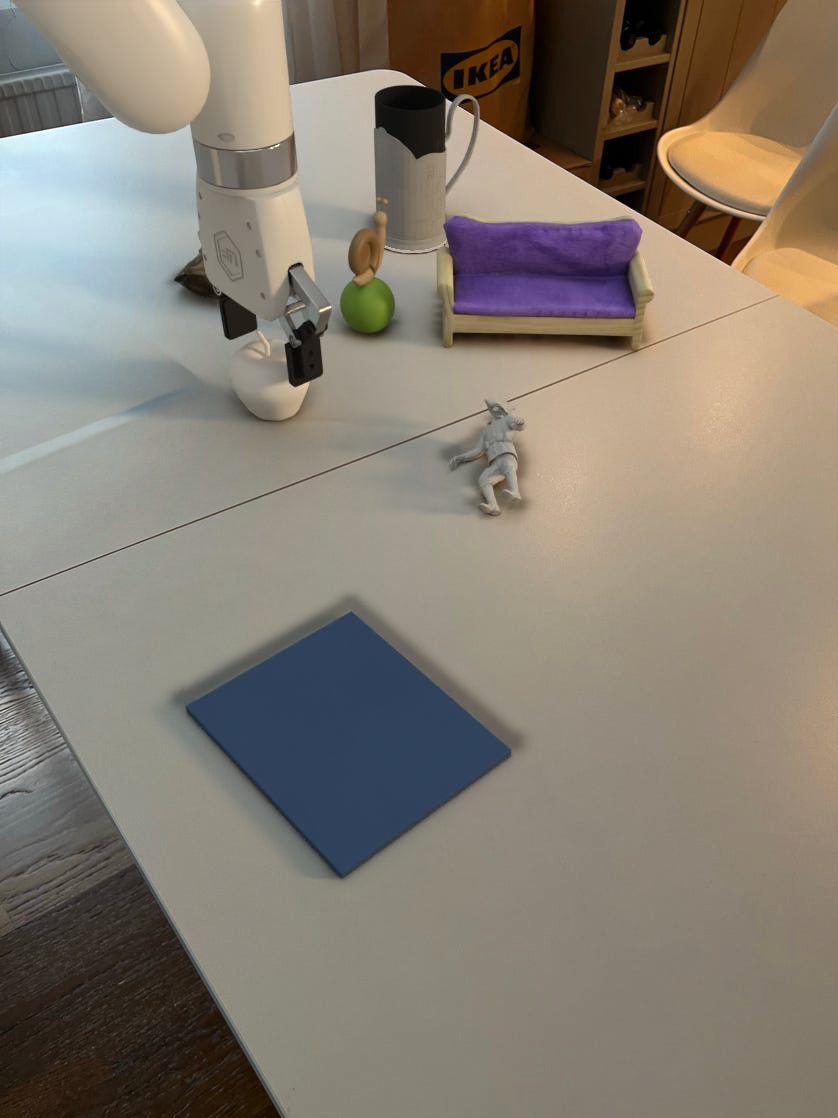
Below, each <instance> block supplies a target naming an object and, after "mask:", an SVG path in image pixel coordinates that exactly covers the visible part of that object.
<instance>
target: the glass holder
mask: <svg viewBox="0 0 838 1118" xmlns="http://www.w3.org/2000/svg"><path fill="white" fill-rule="evenodd" d="M468 99H469V100H470V101H471V103H472V105H473V123H472V124H473V125H472V130H471V136H470V140H469V143H468V147H467V149H466V152H465V154H464V157H463V159H462V160H461V163H460V165H459V166H458V168H457V170H456V171H455V173H454V174H453V175H452V177H451V178H450V179H449V181H448V183H447V152H448V151H447V146H446V143H447V142H448V141H449V140H450V139H451V136H452V131H453V119H454V116H455V111H456V110H457V107H458V106H459V105H460V104H461V102H462V101H464V100H468ZM446 112H447V114H446ZM446 115H447V116H446ZM480 117H481V112H480V105H479V102H478V100H477V99H476V98H475V97H474V96H473V95H470V94H465V93H463V94H460V95H458V96H457V97H456V98H454V100H453V101H452V102H451V104H450V106H449V108H448V111H447V98H446V95H445V94H444V93H443V92H442V91H440V90H438V89H435V88H432V87H429V86H424V85H418V84H399V85H391V86H387V87H384V88H381V89H380V90H378V91H376V92H375V94H374V126H375V127H373V145H374V146H373V149H374V154H373V155H374V181H375V183H374V184H375V185H374V186H375V200H376V199H377V198H378V197H379V198H381V200H383V199H386V200H387V201H388V203H387V205H386V216H387V222H386V226H385V231H386V237H385V245H386V246H388V247H391V248H395V249H400V250H410V251H415V250H425V249H430V248H433V247H436V246H438V245H440V244H442V243H443V242H444V241H445V240H446V239H447V238H446V233H445V230H444V227H443V224H444V223H446V202H447V201H446V199H447V196H448V194H449V192H451V190H452V189H453V188H454V186H455V184H456V183H457V182H458V180H459V179H460V177H461V175H462V174H463V173H464V171H465V170H466V168H467V166H468V164H469V163H470V160H471V158H472V155H473V153H474V150H475V146H476V144H477V143H476V142H477V140H478V135H479V129H480ZM379 205H380V211H383V212H385V205H383V203H382V202H381V203H380V204H378V203H377V202H376V201H375V213H376V212H378V211H379Z"/></svg>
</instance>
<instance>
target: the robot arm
mask: <svg viewBox="0 0 838 1118" xmlns="http://www.w3.org/2000/svg"><path fill="white" fill-rule="evenodd" d="M10 1H11V2H12V4H13V5H15V7H16V8H17V9H18V10H19V11H20V12H21V13H22V14H23V16H24V17H25V18H26V19H27V20H28V21H29V22H30V23H31V24H32V26H33V27H34V28H35V29H36V30H37V31H38V32H39V33H40V34H41V36H42V37H43V38H44V39H45V40H46V42H48V43H49V44H50V46H51V47H52V48H53V49H54V51H55V52H56V54H57V56H58V57H59V59H60V60H61V62H62V63H63V65H64V66H65V67H66V68H67V69H68V71H69V72H70V73H71V74H72V75H73V76H74V77H75V78H76V79H77V80H78V81H79V82H80V83H81V84H82V85H83V86H84V87H85V88H86V90H88V91H89V92H90V93H91V94H92V95H93V96H94V97H95V98H96V99H97V100H98V101H99V102H100V104H101V105H102V106H103V107H104V108H105V110H106V111H107V112H109V114H110V115H111V116H112V117H113V118H115V119H116V120H117V121H118V122H120V123H122V124H123V125H125V126H126V127H127V128H131V129H133V130H136V131H138V132H140V133H145V134H149V135H166V134H170V133H175V132H177V131H179V130H182V129H184V128H186V127H187V126H188V125H189V127H190V135H191V140H192V146H193V152H194V158H195V163H196V172H195V173H196V174H195V175H196V176H195V195H196V210H197V212H196V213H197V221H198V231H197V237H198V240H199V243H200V244H201V245H200V246H201V247H202V254H203V261H204V266H205V272H206V275H207V278H208V279H209V281H210V282H211V283H212V284H213V288H214V291H215V292H216V294H217V295H222V296H221V297H218V298H217V302H218V307H219V313H220V317H221V324H222V330H223V335H224V338H225V339H227V340H228V341H232V340H233V341H234V340H236V339H239V338H241V337H243V336H246V335H247V334H250V333H252V332H255V330H256V329H258V327H259V325H258V320H257V319H258V318H257V317H259V318H260V319H262V320H264V321H268V322H273V321H275V320H278V321H279V324H280V326H281V329H282V330H283V331H284V332H283V333H284V334H285V336H286V338H287V340H288V341H286V342H287V343H285V344H284V346H285V354H286V362H287V370H288V378H289V383H290V384H291V385H292V386H293V387H298V386H300V385H302V384H305V383H307V382H309V381H310V382H311V381H314V380H316V379H318V378H320V377H322V376H323V374H324V364H323V354H322V344H321V338H322V337H324V335H325V332H326V331H327V330H328V328H329V321H330V318H331V314H332V311H333V308H332V305H331V303H330V302H329V300H328V299H327V298H326V297H325V295H324V294H323V293H322V291H321V290H320V289H319V287H318V286H317V284H316V272H315V264H314V257H313V250H312V243H311V237H310V231H309V226H308V221H307V215H306V210H305V206H304V201H303V198H302V194H301V190H300V186H299V183H298V182H297V180H298V178H299V167H298V166H299V165H298V156H297V145H296V136H295V129H294V128H295V127H294V117H293V107H292V97H291V88H290V77H289V66H288V56H287V46H286V45H287V44H286V35H285V25H284V16H283V14H284V13H283V6H282V0H10ZM201 247H200V248H201ZM289 298H293V299H294V300H296V301H294V302H293V303H290V304H288V301H289ZM298 312H300V313H301V315H302V317H303V319H304V321H303V322H302V323H301V324H300V325H299V327H296V325H295V323H294V321H293V318H292V314H295V313H298Z"/></svg>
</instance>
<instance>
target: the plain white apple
mask: <svg viewBox="0 0 838 1118" xmlns="http://www.w3.org/2000/svg"><path fill="white" fill-rule="evenodd" d="M254 332H255V333H256V335H257V336H258V338H259V340H253V341H250V342H248V343H246V344H244V345H243V346H241V347H240V348H238V349H237V350H236V351H235V352H234V354H233V355H232V356H231V358H230V360H229V361H230V362H229V368H228V376H229V382H230V385H231V387H232V390H233V391H234V393H235V394H236V396H237V397H238V398H239V400H240V401H241V402H242V403H243V405H244V406H245V407H246V409H247V410H248V411H249V412H250V413H251V414H253V415H254V416H255V417H257V418H259V419H261V420H263V421H264V420H265V421H274V422H275V421H276V422H277V421H279V422H280V421H284V420H287V419H289V418H292V417H293V416H295V415H296V414H297V413H298V411H299V410H300V408H301V406H302V404H303V401H304V399H305V396H306V395H307V392H308V389H309V386H310V383H311V381H309V382H307V383H305V384H302V385H300V386H298V387H293V386H292V385H291V384H290V383H289V378H288V370H287V362H286V354H285V346H284V344H285V343H287V342H288V341H285V340H281V339H277V338H266V337H265V335H263V333H262V332H261V330H260V329H258V328H257V329H256V330H255V331H254Z"/></svg>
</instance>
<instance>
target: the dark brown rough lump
mask: <svg viewBox="0 0 838 1118" xmlns="http://www.w3.org/2000/svg"><path fill="white" fill-rule="evenodd" d="M173 281H174V282H175V283H178V284H179V285H181V286H182V287H184V288H185V289H186V290H188V291H189V292H191V293H192V294H194V295H196V296H198V297H202V298H204V299H218V297H221V296H222V295H217V294H216V292H215V291H214V288H213V284H212V283H211V282H210V281H209V279H208V278H207V275H206V272H205V266H204V261H203V254H202V247H200V248H199V249H198V254H197V255H196V257H194V258H193V259H192V260H190V261H189V262H187V264H186V265H184V267H183V268H182V269H181V270H180V271H179V272H178V274H177V275H176V276H175V277H174V279H173Z"/></svg>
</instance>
